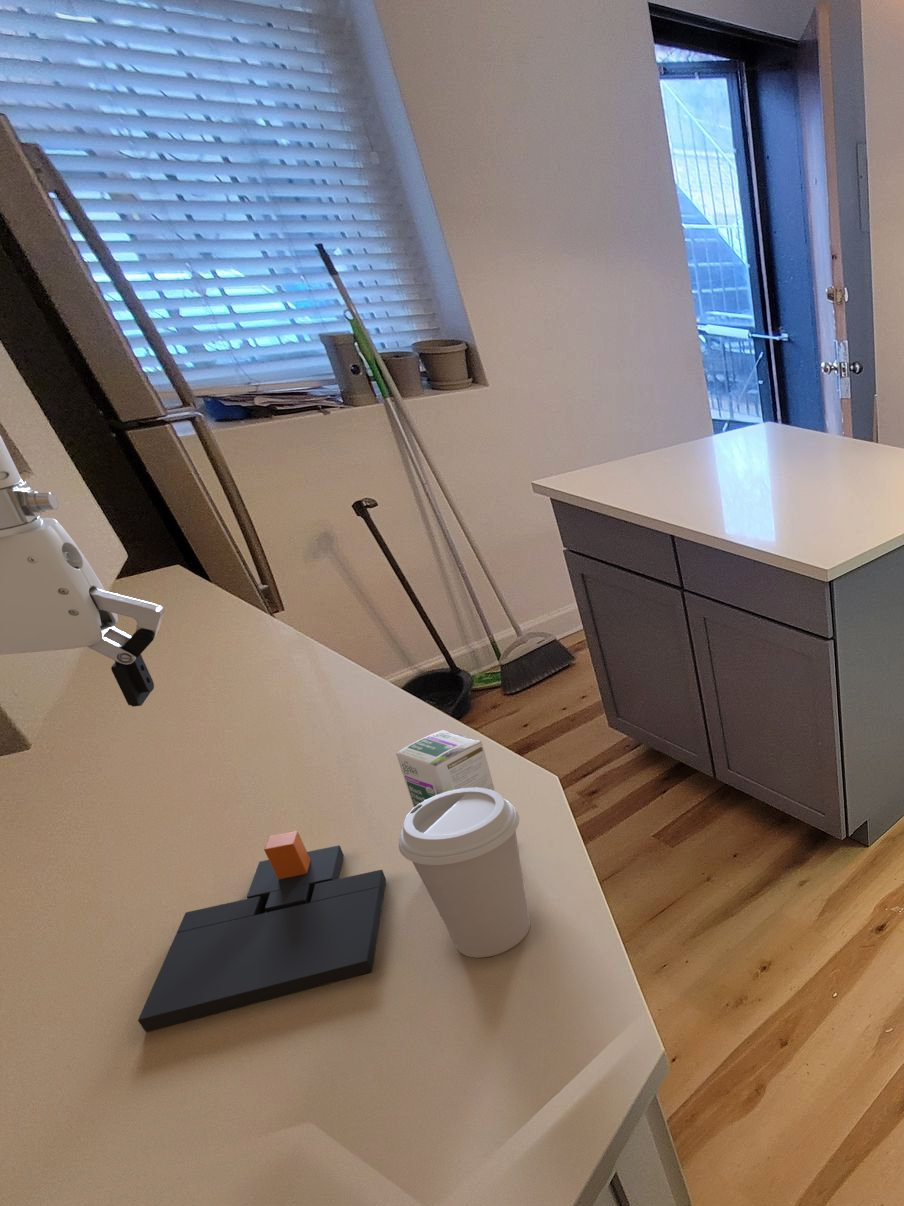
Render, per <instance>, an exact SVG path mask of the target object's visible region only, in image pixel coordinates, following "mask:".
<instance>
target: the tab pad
mask: <svg viewBox="0 0 904 1206" xmlns="http://www.w3.org/2000/svg"><path fill="white" fill-rule="evenodd" d="M263 850H264V852H265V855H266V857H267V859H266V860H261V861H259V862H258V864H257V868H256V870H255V873H254V876H253V879H252V881H251V884H250V887H249V889H248V891H247V895H246V899H249V898H254V897H258V896H261V898H262V900H263V902H264V904H265V913H267V912H272V911H276V910H281V909H285V908H289V907H294V906H298V905H303V904H307V903H310V901H311V898H312V894H313V890H314V886H315V884H318V883H322V882H327V881H332V880H336V879H340V874H341V870H342V865H343V860H344V857H345V854H344V852H343V850H342V847H341V845H340V844H339V845H334V846H328V847H324V848H319V849H314V850H309V851H308V850H307V848H306V847H305V845H304V842H303V840H302V838H301V835H300V833H299V831H298V830H294V831H288V832H284V833H279V834H274V835H269V836H268V837H267V841H266V843H265V846H264V849H263Z"/></svg>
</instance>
